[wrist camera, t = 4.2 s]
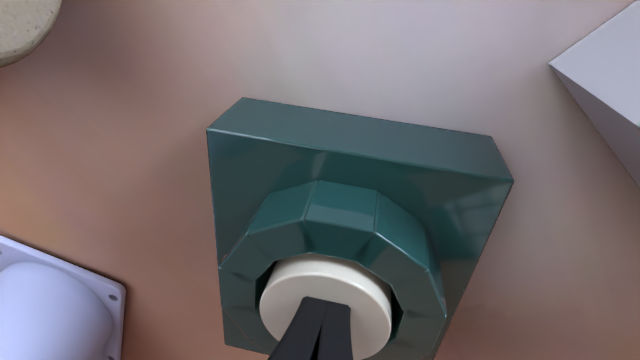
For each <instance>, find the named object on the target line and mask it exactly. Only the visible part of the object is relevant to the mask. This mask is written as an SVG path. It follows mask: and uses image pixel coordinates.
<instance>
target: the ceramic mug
mask: <svg viewBox="0 0 640 360" xmlns="http://www.w3.org/2000/svg"><path fill="white" fill-rule="evenodd" d="M61 2H62V0H0V68H1V67H4V66H7V65H10V64H13V63H15V62H17V61H19V60H21V59H22V58H24V57H26V56H28V55H29V54H30V53H31V52H32V51H33V50H34V49H35V48H36V47H37V46H38V45H39V44H40V43H41V42H42V41H43V40H44V39H45V38H46V36H47V35H48V34H49V32H50V30H51V29H52V27H53V25H54V23H55V21H56V19H57V17H58V13H59V9H60V6H61Z"/></svg>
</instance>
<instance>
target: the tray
mask: <svg viewBox="0 0 640 360" xmlns="http://www.w3.org/2000/svg"><path fill="white" fill-rule="evenodd" d="M548 64H549V65H550V66H551V68H552V69H553V70H554V72H555V73H556V74H557V76H558V77H559V79H560V80H561V81H562V83H563V84H564V85H565V87H566V88H567V90H568V91H569V92H570V94H571V95H572V96H573V98H574V99H575V101H576V102H577V103H578V105H579V106H580V107H581V109H582V110H583V112H584V113H585V114H586V116H587V117H588V118H589V120H590V121H591V122H592V124H593V125H594V127H595V128H596V129H597V131H598V132H599V133H600V135H601V136H602V138H603V139H604V140H605V142H606V143H607V144H608V146H609V147H610V149H611V150H612V151H613V153H614V154H615V155H616V157H617V158H618V160H619V161H620V162H621V164H622V165H623V166H624V168H625V169H626V170H627V172H628V173H629V175H630V176H631V177H632V179H633V180H634V181H635V183H636V184H637V186H638V187H639V188H640V0H637V1H635V2H634V3H632V4H631V5H630V6H628V7H627V8H625V9H624V10H623V11H621V12H620V13H618V14H617V15H615V16H614V17H613V18H611V19H610V20H608V21H607V22H605V23H604V24H603V25H601V26H600V27H598V28H597V29H596V30H594V31H593V32H591V33H590V34H588V35H587V36H586V37H584V38H583V39H581V40H580V41H578V42H577V43H576V44H574V45H573V46H571V47H570V48H569V49H567V50H566V51H564V52H563V53H561V54H560V55H559V56H557V57H556V58H554V59H553V60H552V61H550V62H549V63H548Z"/></svg>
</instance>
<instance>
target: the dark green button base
mask: <svg viewBox="0 0 640 360" xmlns="http://www.w3.org/2000/svg"><path fill="white" fill-rule="evenodd" d="M206 134H207V145H208V157H209V168H210V180H211V191H212V203H213V214H214V226H215V237H216V248H217V260H218V274H219V285H220V296H221V306H222V317H223V329H224V340H225V345H229V346H233V347H237V348H241V349H245V350H250V351H254V352H258V353H262V354H266V355H271V354H272V352H273V350H274V349H275V347H276V346H277V344H278V343H279V341H278V340H276V339H275V338H274V337H273V336H272V335H271V334H270V332H269V331H268V330H267V328H266V327H265V325H264V323H263V321H262V319H261V315H260V308H259V305H260V299H261V296H262V293H263V291H264V288H265V286H266V284H267V281H268V279H269V276H270V274H271V271H272V269H273V266H274V264H275V262H276V261H277V260H282V259H286V258H291V257H295V256H300V255H304V254H309V253H313V254H318V255H323V256H328V257H333V258H338V259H343V260H348V261H353V262H356V263H358V264H359V265H361V266H362V267H364V268H365V269H367V270H368V271H370V272H371V273H373V274H374V275H376V276H377V277H379V278H380V279H382V280H383V281H384V282H386V283H387V284H389V285H390V286H391V288H392V324H391V334H390V337H389V339H388V341H387V343H386V344H385V346H384V347H383V348H382V349H381V350H380V351H379V352H377V353H376V354H375V355H373V356H371V357H369V358H366V359H363V360H433V359H434V357H435V355H436V353H437V350H438V348H439V346H440V344H441V342H442V339H443V337H444V335H445V333H446V331H447V328H448V326H449V324H450V322H451V320H452V317H453V315H454V313H455V311H456V309H457V306H458V304H459V302H460V300H461V298H462V295H463V293H464V291H465V289H466V287H467V284H468V282H469V280H470V278H471V275H472V273H473V271H474V269H475V267H476V264H477V262H478V260H479V258H480V256H481V253H482V251H483V249H484V247H485V245H486V242H487V240H488V238H489V236H490V234H491V231H492V229H493V227H494V225H495V223H496V220H497V218H498V216H499V214H500V212H501V209H502V207H503V205H504V203H505V201H506V198H507V196H508V194H509V192H510V190H511V187H512V185H513V183H514V179H513V177H512V175H511V174H510V172H509V170H508V168H507V166H506V164H505V162H504V160H503V158H502V156H501V154H500V152H499V150H498V148H497V146H496V144H495V143H494V141H493V139H492V137H491V136H485V135H479V134H472V133H466V132H460V131H453V130H447V129H441V128H434V127H428V126H421V125H415V124H409V123H402V122H396V121H390V120H383V119H377V118H371V117H364V116H358V115H351V114H345V113H339V112H332V111H326V110H320V109H313V108H307V107H301V106H294V105H288V104H281V103H275V102H269V101H262V100H256V99H250V98H241V99H240V100H238V101H237V102H236V103H235V104H234V105H233V106H232V107H230V108H229V109H228V110H227V111H226V112H225V113H224V114H222V115H221V116H220V117H219V118H218V119H217V120H216V121H214V122H213V123H212V124H211V125H210V126H209V127H208V128H207V129H206Z"/></svg>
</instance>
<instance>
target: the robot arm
mask: <svg viewBox="0 0 640 360" xmlns="http://www.w3.org/2000/svg"><path fill="white" fill-rule="evenodd" d="M125 294H126V291H125V288H124V286H123V285H122V284H120V283H118V282H115V281H113V280H110V279H108V278H105V277H103V276H100V275H98V274H95V273H93V272H90V271H88V270H86V269H83V268H81V267H78V266H76V265H73V264H71V263H68V262H66V261H63V260H61V259H58V258H56V257H53V256H51V255H48V254H46V253H43V252H41V251H38V250H36V249H33V248H31V247H28V246H26V245H23V244H21V243H18V242H16V241H13V240H11V239H8V238H6V237H3V236H0V360H121V347H122V334H123V320H124V307H125ZM350 315H351V308H350V307H349V306H348V305H346V304H341V303H336V302H332V301H327V300H322V299H318V298H313V297H309V296H306V297H303V298H302V301H301V303H300V305H299V307H298V309H297V311H296V313H295V315H294V317H293V319H292V321H291V323H290V325H289V326H288V328H287V330H286V331H285V333H284V335H283V337H282V338H281V340H280V341H279V343H278V344H277V346H276V347H275V349H274V350H273V352H272V354H271V355H270V357H269V358H268V360H353V353H352V343H351V327H350Z"/></svg>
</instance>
